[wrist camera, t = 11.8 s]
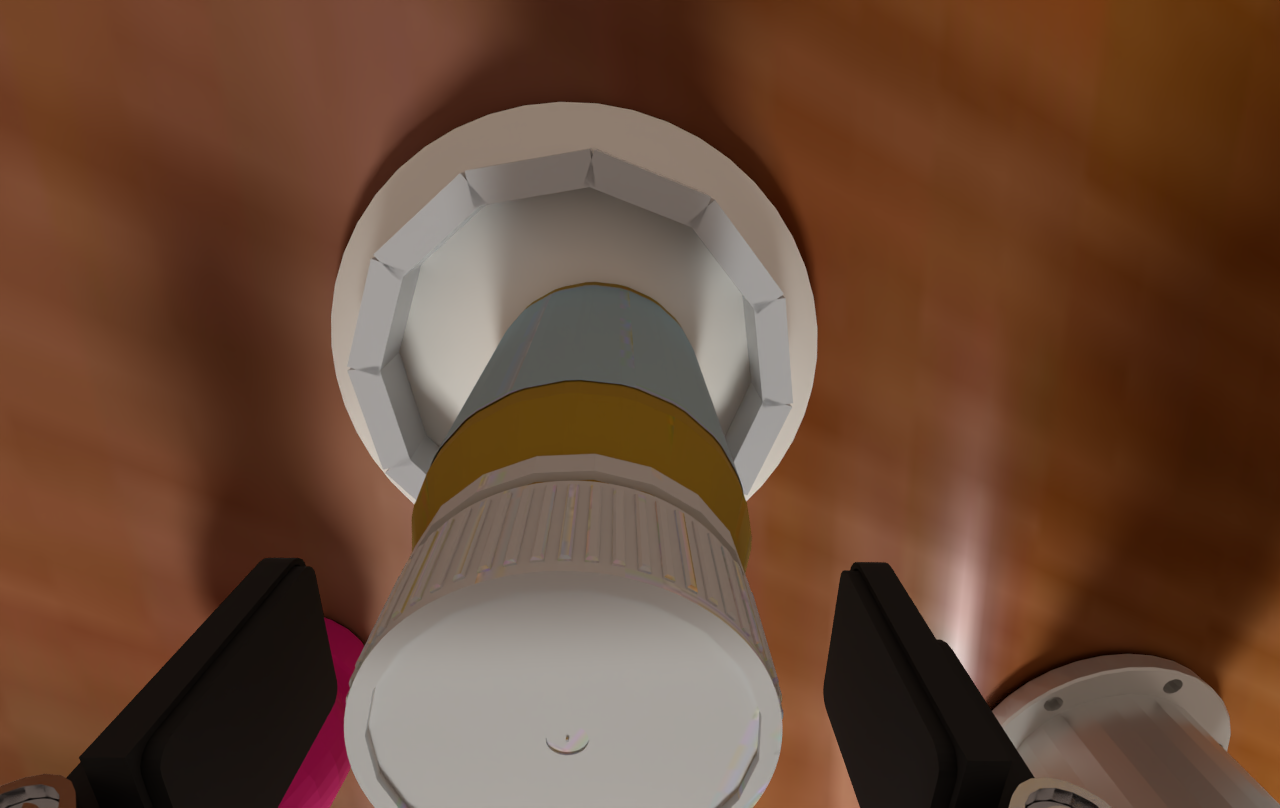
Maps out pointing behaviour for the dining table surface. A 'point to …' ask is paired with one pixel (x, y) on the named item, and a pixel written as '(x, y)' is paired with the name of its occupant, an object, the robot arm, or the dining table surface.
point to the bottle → (574, 587)
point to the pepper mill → (328, 733)
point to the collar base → (567, 273)
